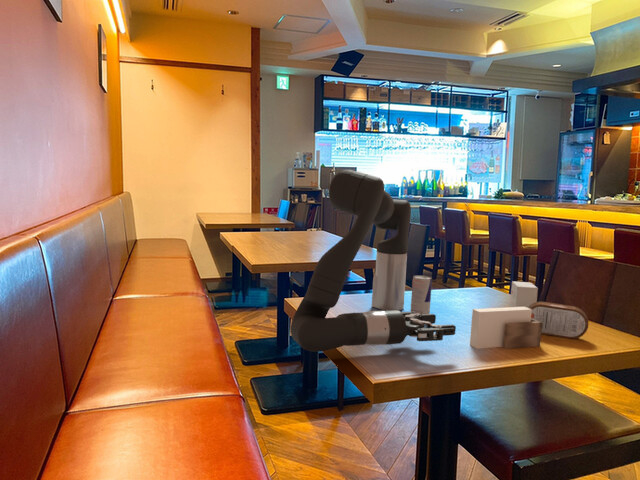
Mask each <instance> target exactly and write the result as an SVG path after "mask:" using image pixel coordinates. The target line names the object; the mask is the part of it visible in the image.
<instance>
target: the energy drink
mask: <svg viewBox="0 0 640 480" xmlns="http://www.w3.org/2000/svg"><path fill="white" fill-rule="evenodd" d="M411 283H412V284H411V300H410V311H413V312H414V314H416V313H419V314H420V315H422V314H431V313H430V311H431V302H432V301H431V299H432V285H433V284H432V283H433V280H432V277H431V276H427V275H418V274H417V275H413V278H412V282H411Z"/></svg>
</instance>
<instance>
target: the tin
mask: <svg viewBox="0 0 640 480" xmlns="http://www.w3.org/2000/svg"><path fill="white" fill-rule="evenodd" d="M528 308H529V309H532V313H531V318H533V319H535V320H538V321H540V322H543V323H542V333H541V335H545V336H553V337H557V338H562V339H563V338H564V339H570V340H574V339H575V340H576V339H578V338H581V337H582V336H584V335H585V334H586V333H587V332H588V329H589V317H588V316H587V314H586V312H584V310H582V309H581V308H579V307H578V306H574V305H567V304H560V303H554V302H548V301H547V302H546V301H537V302H536V303H533V304H531V305H530V306H529V307H528Z"/></svg>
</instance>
